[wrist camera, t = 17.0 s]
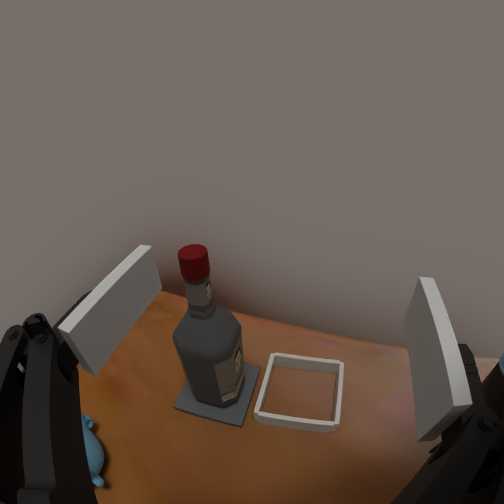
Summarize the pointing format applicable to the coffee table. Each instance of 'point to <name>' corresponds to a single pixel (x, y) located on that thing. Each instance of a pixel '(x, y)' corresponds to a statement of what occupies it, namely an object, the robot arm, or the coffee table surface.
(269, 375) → the bottle holder
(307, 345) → the coffee table surface
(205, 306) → the liquor
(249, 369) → the slate coaster
